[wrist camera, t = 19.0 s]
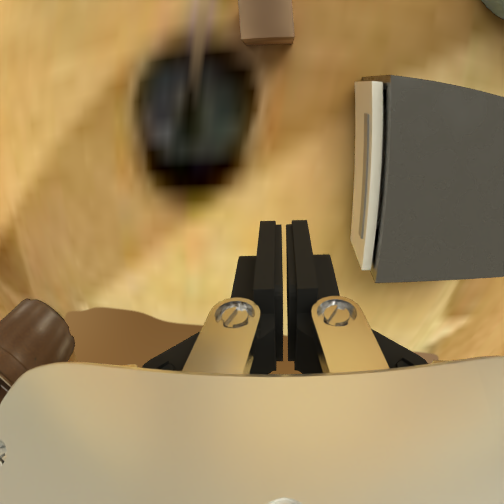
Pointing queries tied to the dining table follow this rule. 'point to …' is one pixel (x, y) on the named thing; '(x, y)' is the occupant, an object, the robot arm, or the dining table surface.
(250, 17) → the walnut block
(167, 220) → the dining table surface
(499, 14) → the grey green tumbler
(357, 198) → the white drawer
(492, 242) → the housing
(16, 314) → the plant pot
